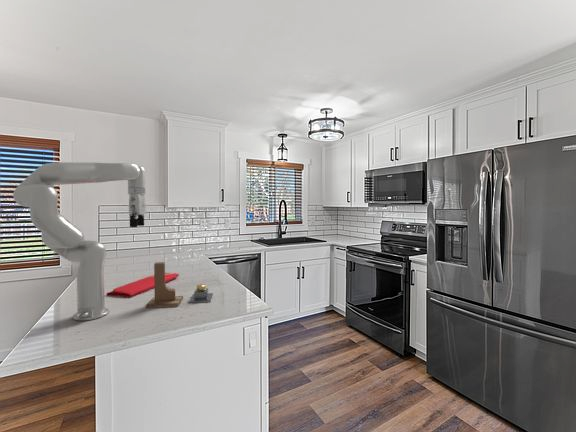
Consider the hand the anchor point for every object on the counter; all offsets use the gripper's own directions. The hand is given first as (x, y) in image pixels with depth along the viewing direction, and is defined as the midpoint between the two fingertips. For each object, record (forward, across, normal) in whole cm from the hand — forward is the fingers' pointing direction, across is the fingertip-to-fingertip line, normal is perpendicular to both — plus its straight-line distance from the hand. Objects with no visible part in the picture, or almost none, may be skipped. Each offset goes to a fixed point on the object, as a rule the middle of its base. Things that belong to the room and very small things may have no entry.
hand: (137, 226), depth 143 cm
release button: (+32, -4, -31) cm, 45 cm away
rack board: (+36, -8, -15) cm, 40 cm away
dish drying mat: (+37, +25, +4) cm, 45 cm away
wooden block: (+35, -8, -15) cm, 39 cm away
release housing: (+36, -4, -31) cm, 48 cm away
